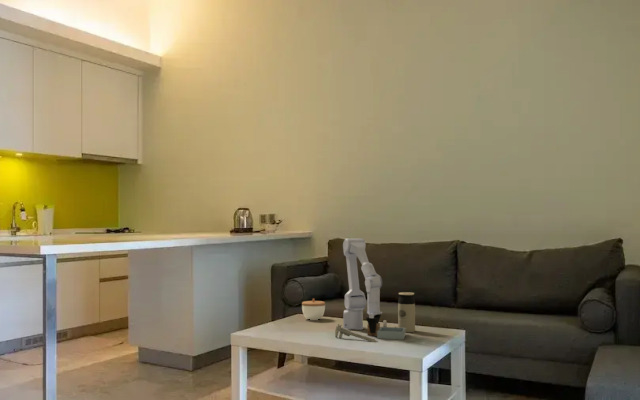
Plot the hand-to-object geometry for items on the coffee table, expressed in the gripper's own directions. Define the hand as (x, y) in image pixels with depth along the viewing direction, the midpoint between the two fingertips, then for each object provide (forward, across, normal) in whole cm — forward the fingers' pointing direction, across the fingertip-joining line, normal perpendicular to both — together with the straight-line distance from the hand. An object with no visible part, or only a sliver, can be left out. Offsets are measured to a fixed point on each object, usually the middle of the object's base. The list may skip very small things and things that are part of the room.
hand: (373, 331), depth 258 cm
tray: (+1, -2, -8) cm, 9 cm away
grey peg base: (+1, +10, -4) cm, 11 cm away
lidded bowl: (+2, +36, +38) cm, 52 cm away
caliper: (+2, -13, +6) cm, 14 cm away
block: (+1, 0, 0) cm, 1 cm away
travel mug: (+2, +13, -14) cm, 19 cm away
